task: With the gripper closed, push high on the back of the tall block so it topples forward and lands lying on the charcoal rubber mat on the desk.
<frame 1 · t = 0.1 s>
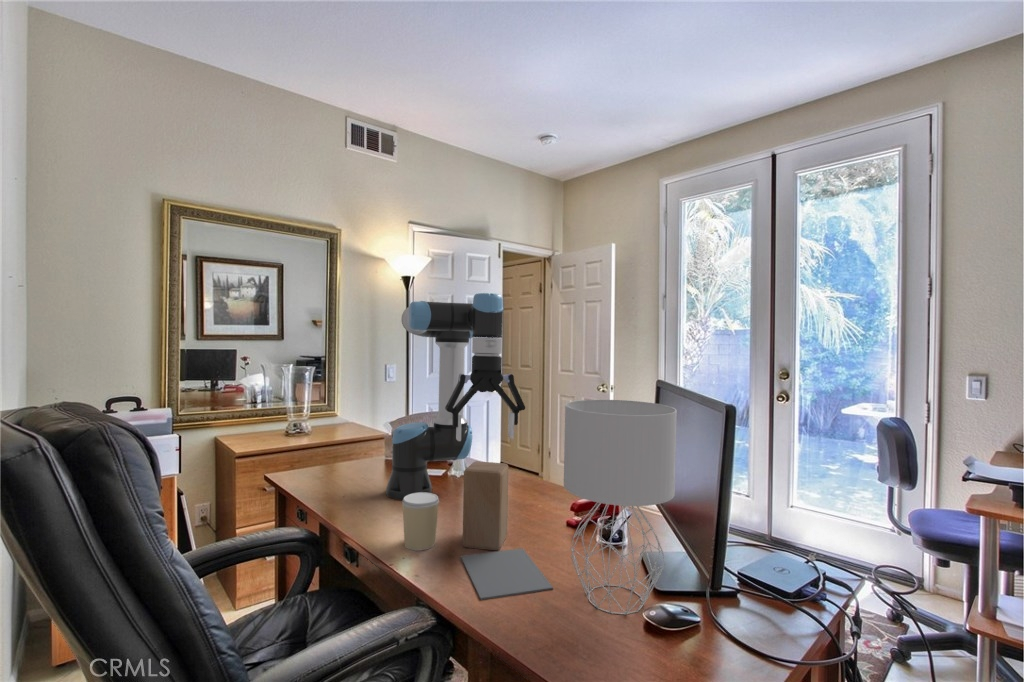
hand: (485, 439, 124), 28 cm above the table, fingers open, 13 cm apart
coffee cup: (419, 544, 126), on the table
block: (485, 542, 128), on the table
mat: (504, 572, 112), on the table
table lamp: (615, 599, 102), on the table
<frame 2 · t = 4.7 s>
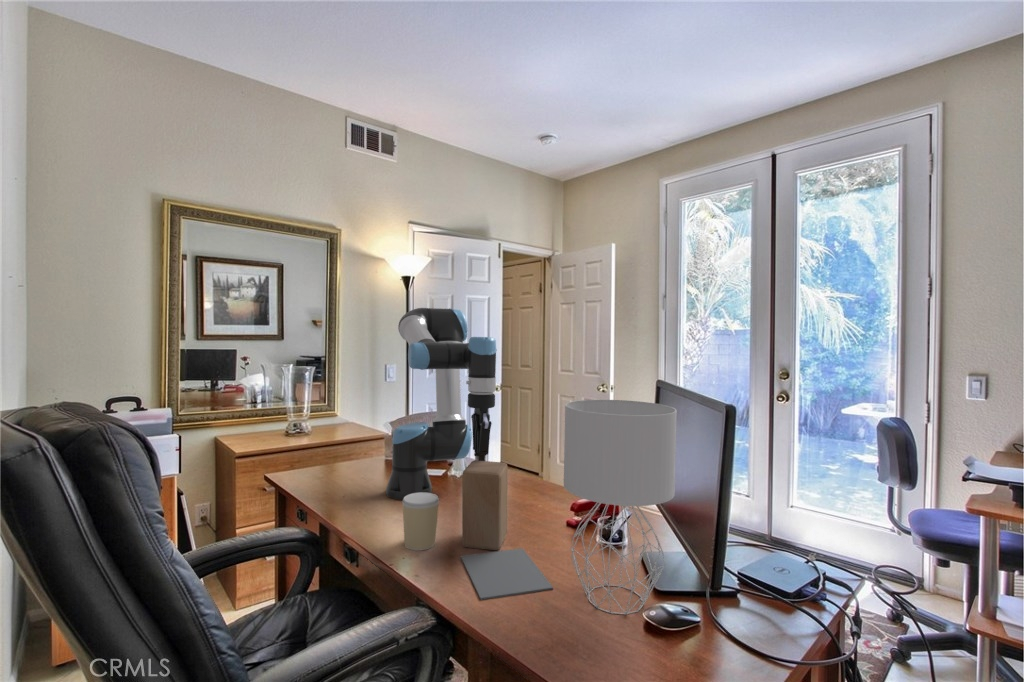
hand: (479, 478, 135), 15 cm above the table, fingers closed
block: (485, 541, 128), on the table, touching gripper
everything else where it was.
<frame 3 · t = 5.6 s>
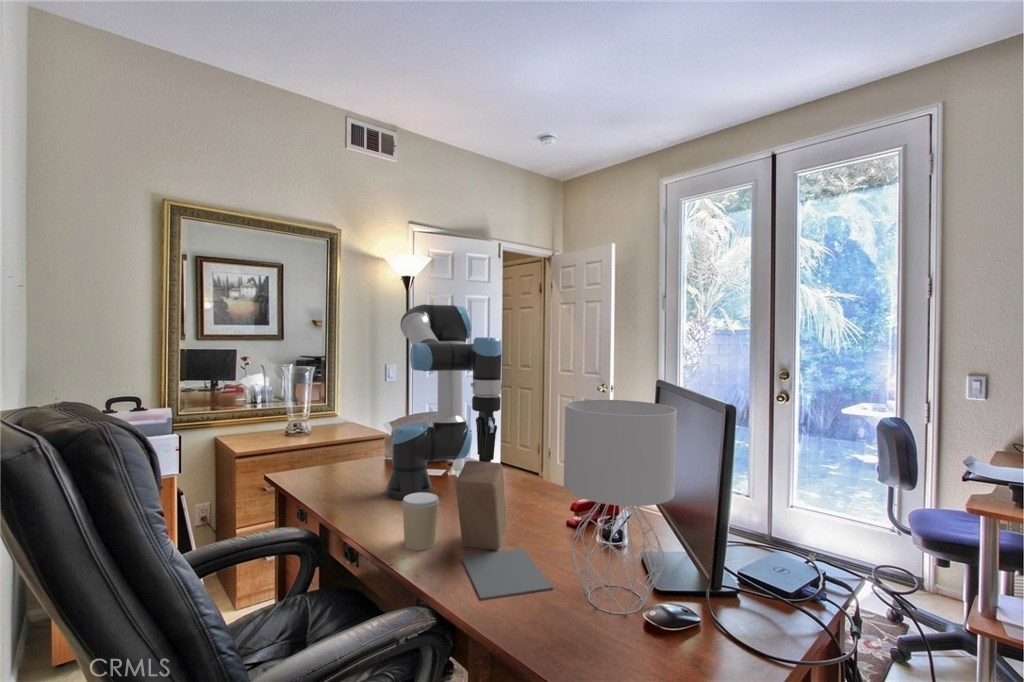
hand: (484, 484, 130), 15 cm above the table, fingers closed
block: (485, 536, 128), point 2 cm above the table
everything else where it was.
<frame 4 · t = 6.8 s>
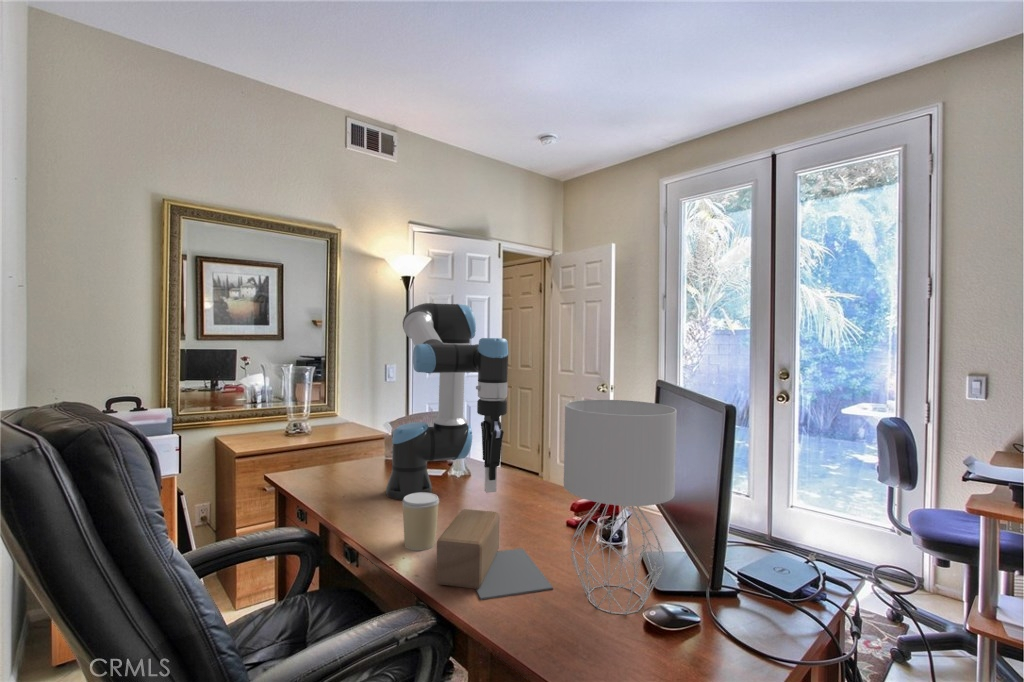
hand: (490, 491, 124), 15 cm above the table, fingers closed
block: (480, 528, 124), point 5 cm above the table, touching mat
everything else where it was.
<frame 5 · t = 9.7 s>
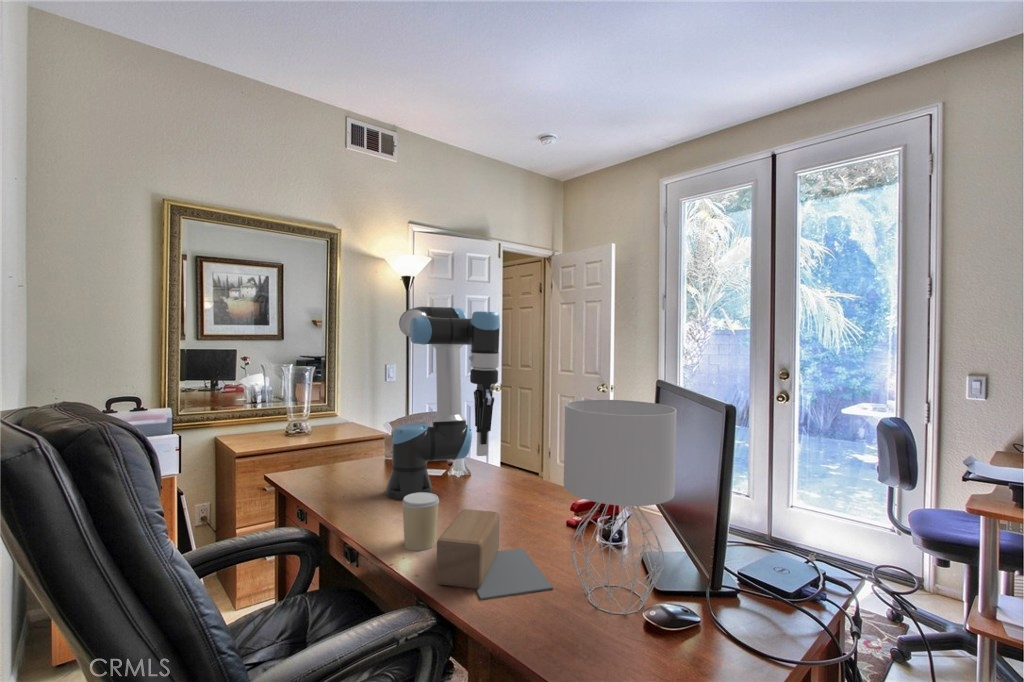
hand: (481, 455, 133), 22 cm above the table, fingers closed
nothing on the table moved.
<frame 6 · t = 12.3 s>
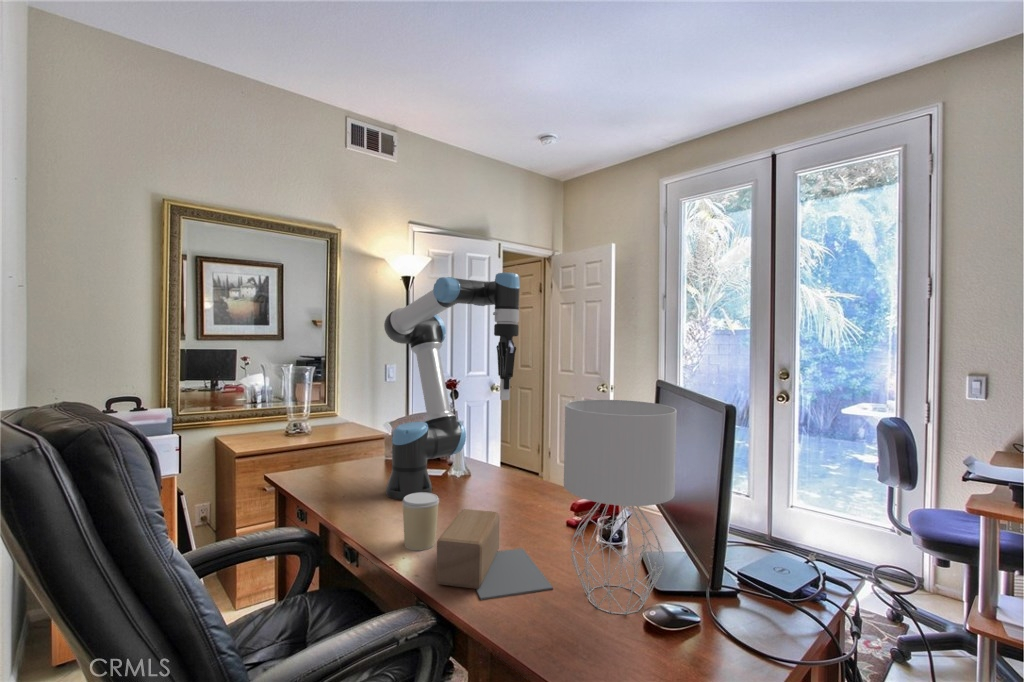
hand: (504, 399, 151), 34 cm above the table, fingers closed
nothing on the table moved.
at the end: block tilted 90°; block inside the target area (9.4 cm from its centre), point 5.4 cm above the table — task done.
